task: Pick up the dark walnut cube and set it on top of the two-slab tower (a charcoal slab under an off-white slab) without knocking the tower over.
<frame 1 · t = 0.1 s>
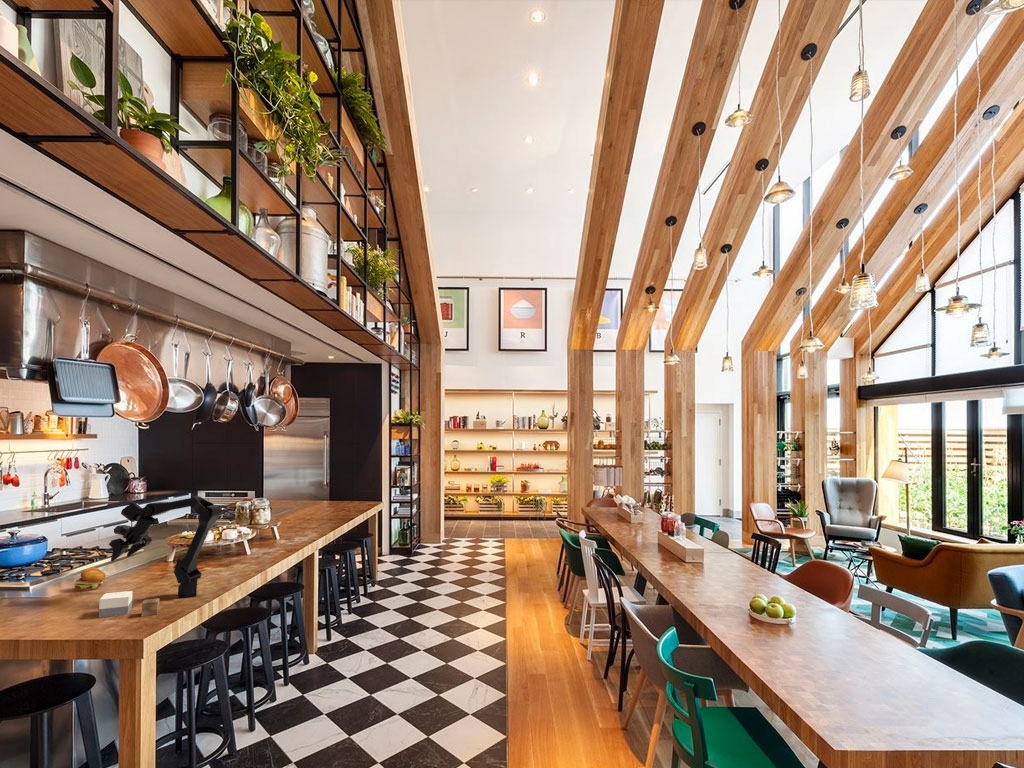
hand: (119, 558, 236), 15 cm above the table, fingers open, 9 cm apart
tower base slab: (115, 613, 210), on the table, touching tower top slab
cheeseburger: (89, 589, 243), on the table
walnut block: (150, 614, 209), on the table
tower top slab: (115, 604, 211), point 3 cm above the table, touching tower base slab
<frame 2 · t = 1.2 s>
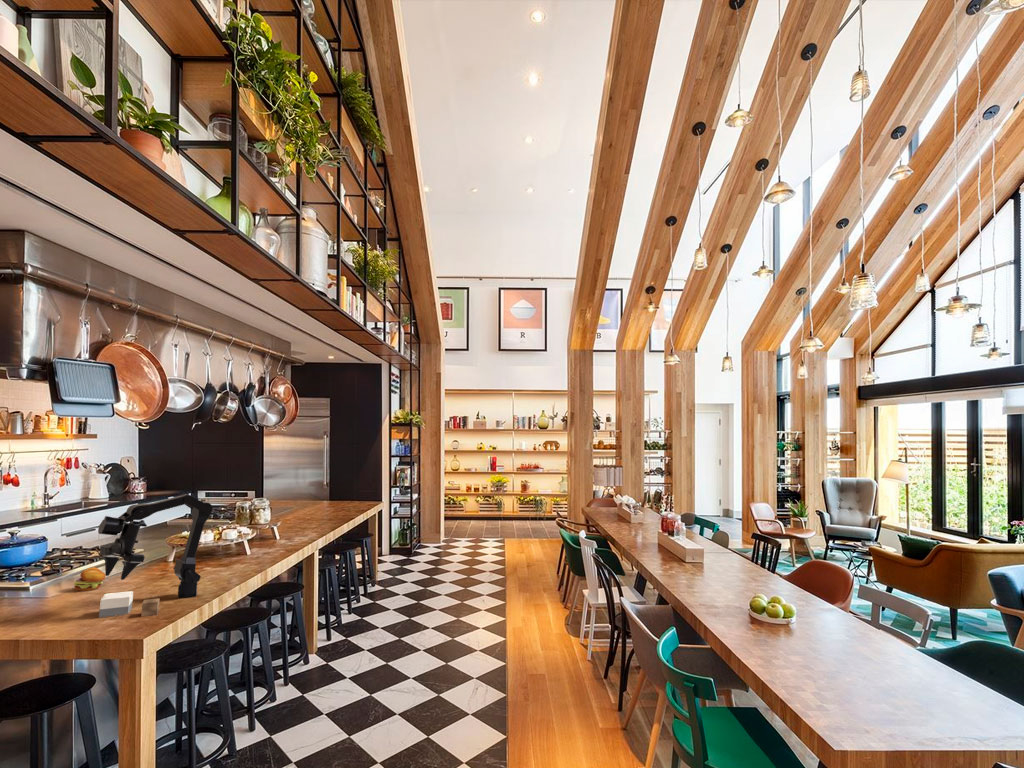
hand: (114, 577, 214), 13 cm above the table, fingers open, 9 cm apart
nothing on the table moved.
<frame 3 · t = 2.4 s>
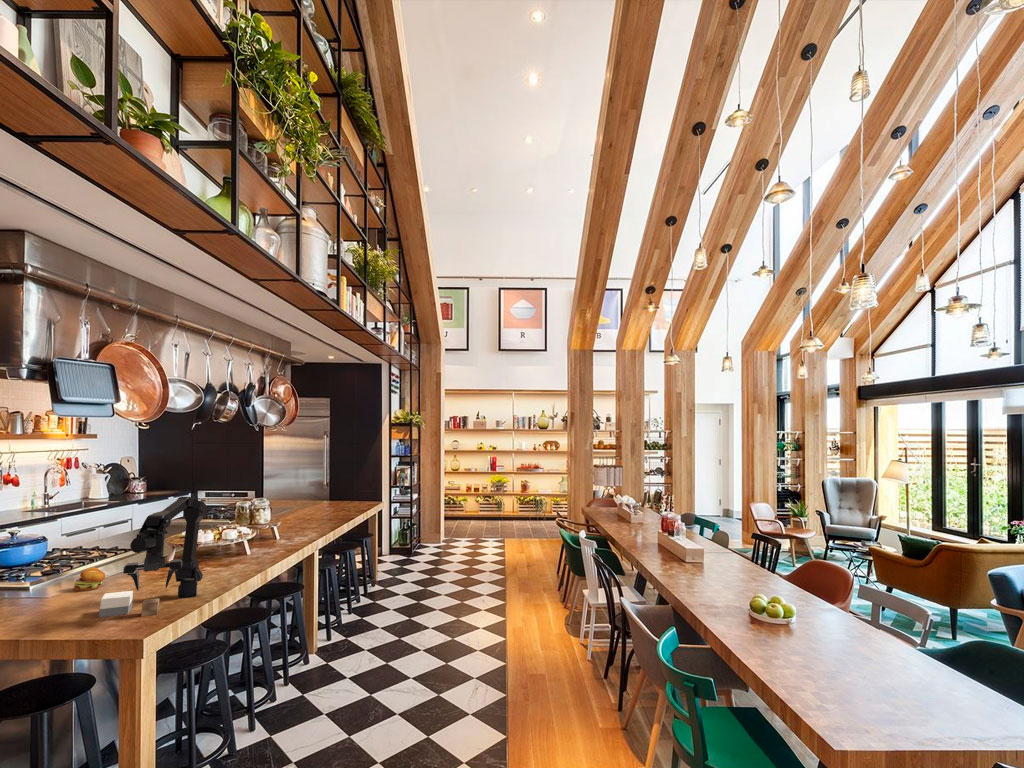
hand: (152, 589, 210), 9 cm above the table, fingers open, 9 cm apart
nothing on the table moved.
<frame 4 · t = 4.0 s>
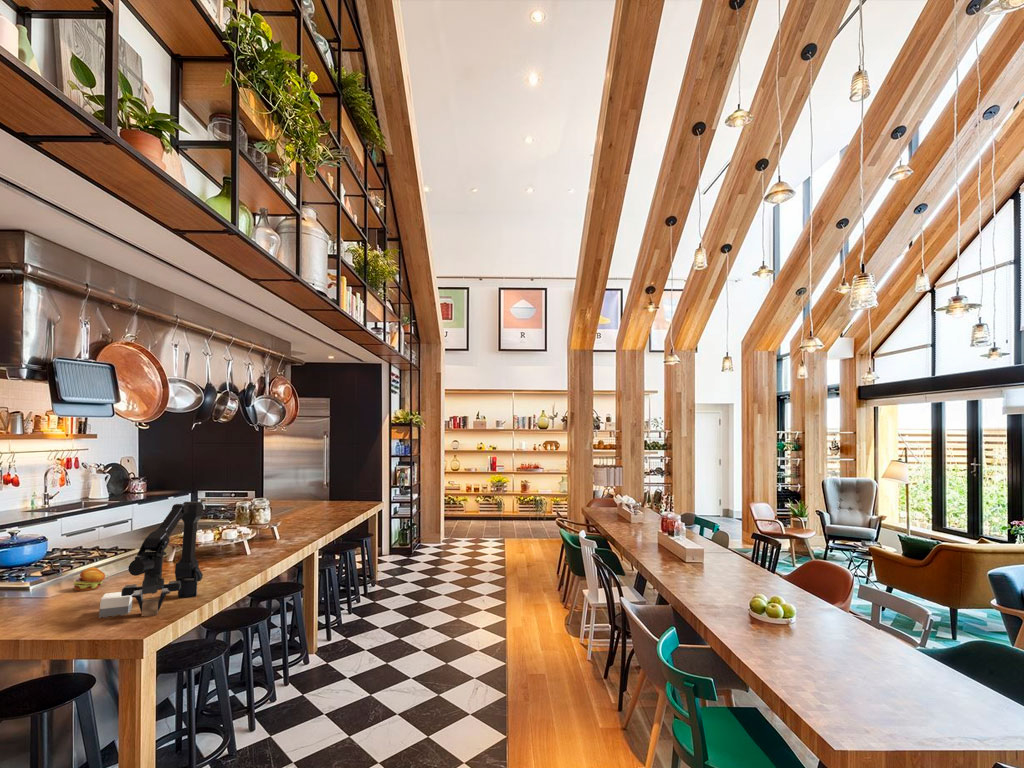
hand: (150, 611, 209), 1 cm above the table, fingers closed on walnut block, 5 cm apart
walnut block: (150, 614, 209), on the table, touching gripper
everything else where it was.
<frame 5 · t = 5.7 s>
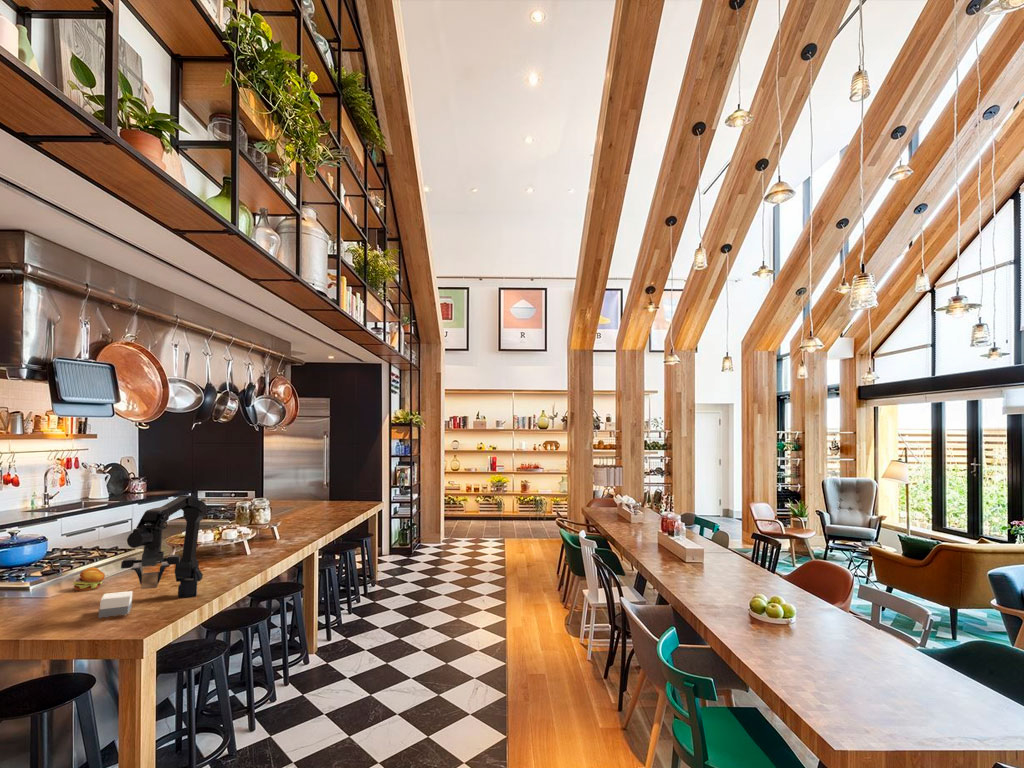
hand: (149, 584, 211), 11 cm above the table, fingers closed on walnut block, 5 cm apart
walnut block: (149, 587, 210), point 10 cm above the table, touching gripper
everything else where it was.
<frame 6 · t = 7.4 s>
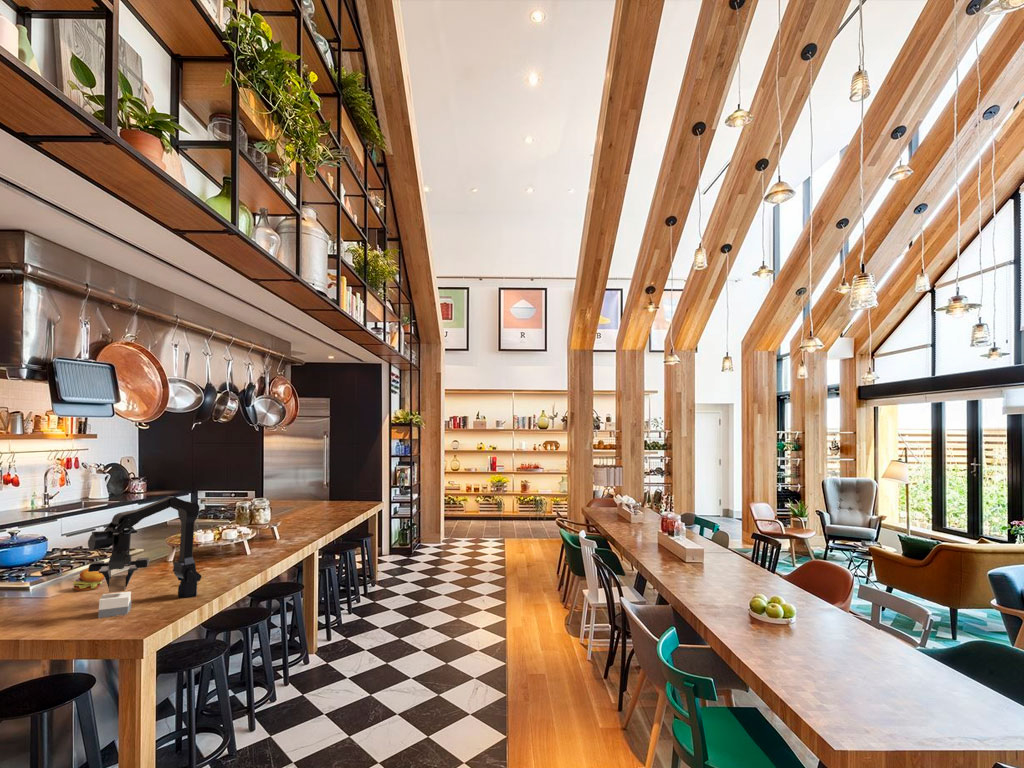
hand: (117, 587, 211), 9 cm above the table, fingers closed on walnut block, 5 cm apart
walnut block: (117, 590, 211), point 8 cm above the table, touching gripper
everything else where it was.
when the fingers open (9 cm above the table, at t = 8.1 s): walnut block drops 2 cm, point 7 cm above the table.
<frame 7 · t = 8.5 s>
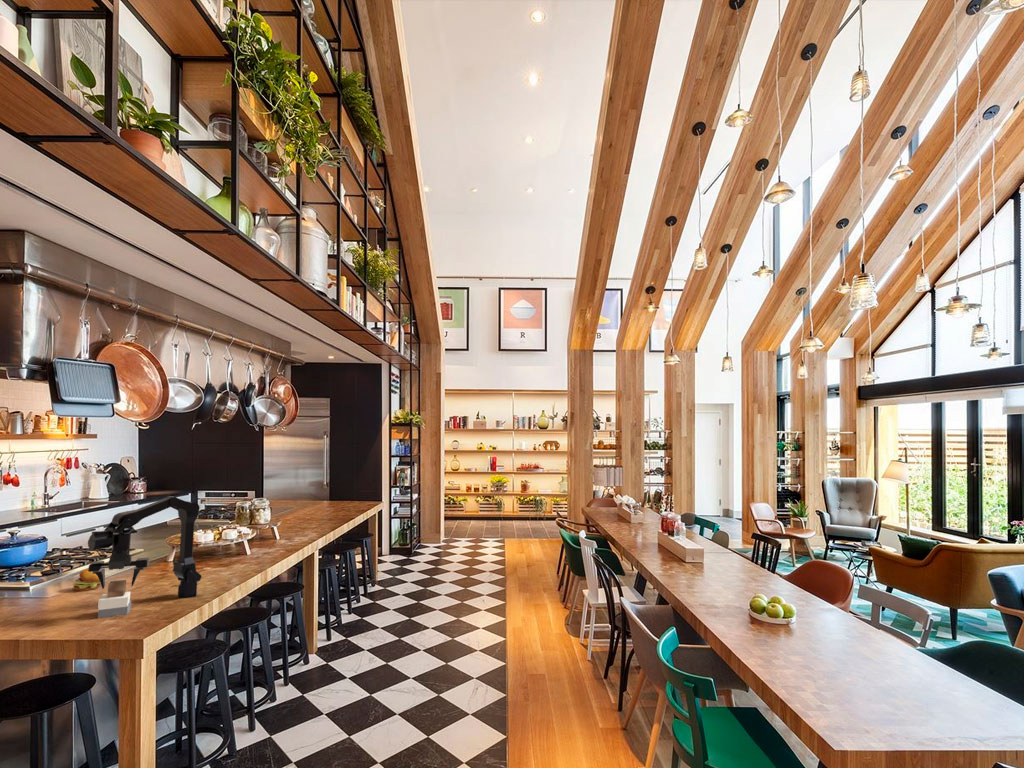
hand: (117, 587, 211), 9 cm above the table, fingers open, 9 cm apart
tower base slab: (114, 614, 210), on the table
walnut block: (116, 595, 211), point 7 cm above the table
tower top slab: (114, 605, 210), point 3 cm above the table
everything else where it was.
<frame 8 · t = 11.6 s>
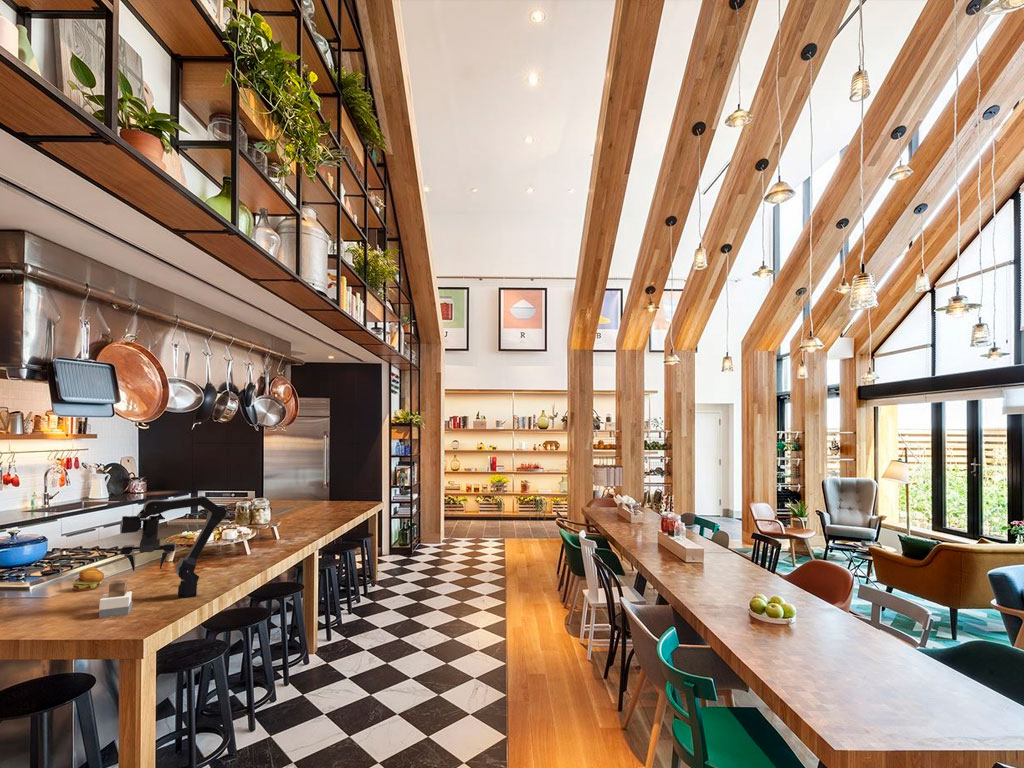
hand: (147, 569, 225), 13 cm above the table, fingers open, 9 cm apart
nothing on the table moved.
at the end: walnut block 0.6 cm off-centre on the tower top slab, point 3.5 cm above the tower top slab's base; walnut block tilted 0°; tower top slab 0.3 cm off-centre on the tower base slab, point 3.5 cm above the tower base slab's base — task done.
